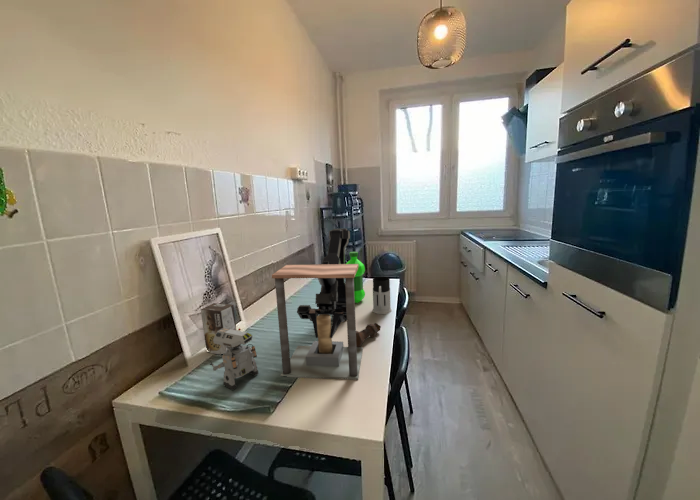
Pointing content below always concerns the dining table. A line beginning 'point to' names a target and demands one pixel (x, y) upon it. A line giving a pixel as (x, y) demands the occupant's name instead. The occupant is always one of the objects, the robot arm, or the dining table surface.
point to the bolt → (366, 333)
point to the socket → (325, 355)
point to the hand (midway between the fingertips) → (323, 337)
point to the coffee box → (217, 324)
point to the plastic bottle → (357, 277)
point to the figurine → (235, 355)
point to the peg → (324, 334)
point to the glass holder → (381, 295)
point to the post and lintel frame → (297, 362)
